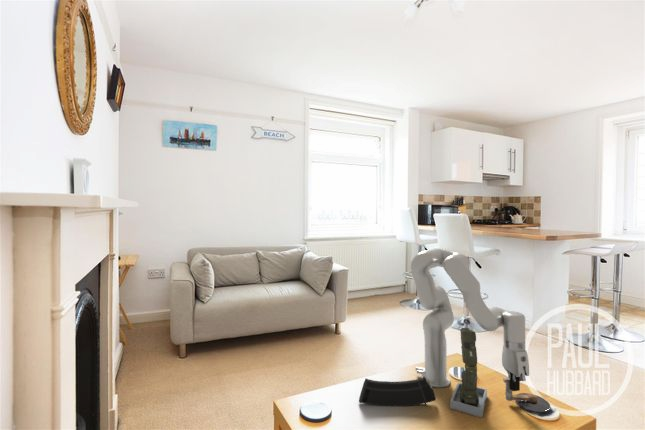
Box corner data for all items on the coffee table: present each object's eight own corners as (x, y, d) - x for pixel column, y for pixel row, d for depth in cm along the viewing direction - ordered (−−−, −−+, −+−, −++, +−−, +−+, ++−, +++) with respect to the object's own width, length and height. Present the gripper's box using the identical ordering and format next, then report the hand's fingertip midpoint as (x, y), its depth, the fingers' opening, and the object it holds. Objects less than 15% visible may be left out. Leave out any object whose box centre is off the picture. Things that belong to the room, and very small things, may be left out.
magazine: (353, 384, 140) (425, 363, 139) (352, 380, 143) (423, 359, 142) (366, 424, 140) (437, 403, 140) (365, 419, 144) (435, 399, 143)
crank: (534, 397, 142) (534, 377, 141) (539, 402, 138) (539, 382, 138) (501, 396, 143) (502, 376, 142) (505, 401, 139) (505, 381, 139)
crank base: (514, 408, 138) (514, 404, 138) (515, 393, 148) (515, 390, 148) (550, 417, 132) (550, 413, 132) (549, 401, 142) (549, 397, 142)
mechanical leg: (483, 413, 132) (479, 331, 138) (463, 411, 134) (460, 329, 140) (476, 402, 145) (472, 327, 151) (457, 400, 147) (455, 326, 153)
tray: (450, 408, 138) (450, 400, 138) (457, 389, 152) (457, 382, 152) (482, 417, 132) (482, 409, 132) (487, 396, 146) (487, 389, 146)
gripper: (537, 350, 131) (537, 399, 131) (509, 336, 145) (510, 379, 146) (519, 352, 129) (519, 401, 130) (493, 337, 144) (493, 381, 144)
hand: (514, 389), depth 138 cm, fingers closed
